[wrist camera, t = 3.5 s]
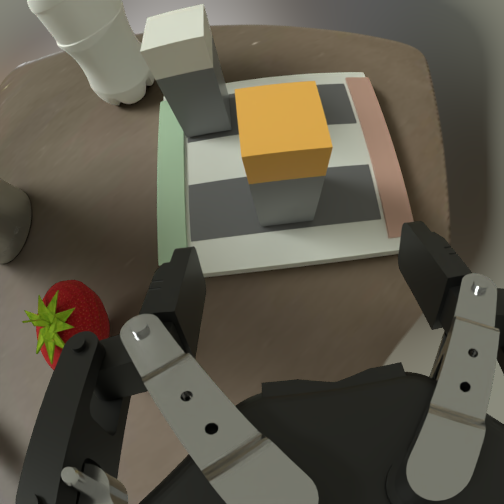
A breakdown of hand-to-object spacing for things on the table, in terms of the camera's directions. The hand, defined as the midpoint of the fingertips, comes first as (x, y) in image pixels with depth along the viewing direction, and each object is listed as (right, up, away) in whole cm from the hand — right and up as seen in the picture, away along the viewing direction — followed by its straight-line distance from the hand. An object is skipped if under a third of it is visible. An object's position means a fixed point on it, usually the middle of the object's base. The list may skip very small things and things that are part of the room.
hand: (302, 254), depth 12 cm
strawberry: (-15, -7, +14) cm, 22 cm away
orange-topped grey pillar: (+1, +4, +12) cm, 13 cm away
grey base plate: (0, +8, +16) cm, 17 cm away
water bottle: (-16, +19, +20) cm, 31 cm away
